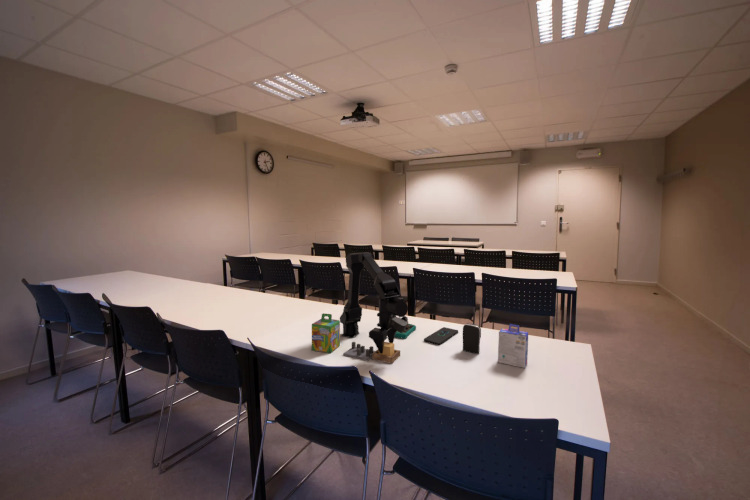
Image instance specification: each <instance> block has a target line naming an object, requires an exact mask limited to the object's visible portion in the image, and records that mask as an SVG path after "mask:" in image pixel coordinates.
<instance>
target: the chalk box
mask: <svg viewBox="0 0 750 500" xmlns="http://www.w3.org/2000/svg"><path fill="white" fill-rule="evenodd" d="M325 317H326V318H325ZM340 346H341V322H340V319H333V315H332V314H331V313H321V318H320V319H318V320H316V321H315V322H313V323H312V324H311V351H314V352H321V353H327V354H331V353H333V352H334V351H335V350H337V348H339V347H340Z"/></svg>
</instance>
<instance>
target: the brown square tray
mask: <svg viewBox="0 0 750 500" xmlns="http://www.w3.org/2000/svg"><path fill="white" fill-rule="evenodd" d="M374 351H375V352H374V353H373V354H372V357H371V358H372V360H375V361H380V362H384V363H388V364H393V363H394V362H395V361H397V360H398V358H400V357H401V350H399V349H395V348H394V355H393V356H392V357H391V356H386V355H381V354H379V350H378V349H376V350H374Z"/></svg>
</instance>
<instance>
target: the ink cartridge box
mask: <svg viewBox="0 0 750 500" xmlns="http://www.w3.org/2000/svg"><path fill="white" fill-rule="evenodd" d="M512 327H515V328H512ZM497 349H498V350H497V362H498V363H500V364H505V365H509V366H514V367H519V368H523V369H525V368H526V367H527V365H528V351H529V350H528V349H529V331H523V330H520V325H519V324H513V323H509V326H508V328H501V329H500V330H499V331H498V347H497Z"/></svg>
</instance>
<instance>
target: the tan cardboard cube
mask: <svg viewBox="0 0 750 500" xmlns="http://www.w3.org/2000/svg"><path fill="white" fill-rule="evenodd" d="M394 349H395V342H393V343H389V341H388V342H387V341H384V348H383V353H380V352H379V354H381V355H386V356H391V357H392V356H393V355H394Z"/></svg>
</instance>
